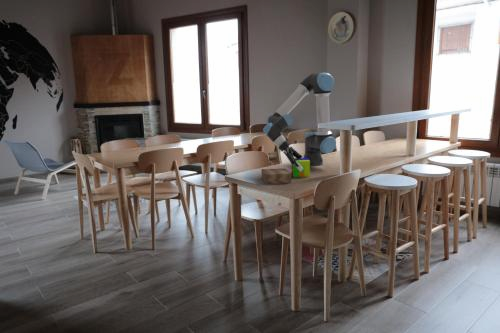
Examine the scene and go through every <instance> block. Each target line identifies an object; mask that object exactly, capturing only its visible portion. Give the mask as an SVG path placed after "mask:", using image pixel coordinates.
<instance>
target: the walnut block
mask: <svg viewBox="0 0 500 333" xmlns="http://www.w3.org/2000/svg"><path fill="white" fill-rule="evenodd" d="M261 179H262V180H263V182H264V183H265V184H266V185H274V184H291V183H292V172H290V171H289V170H287V169H286V168H285V167H283V168H262V169H261Z"/></svg>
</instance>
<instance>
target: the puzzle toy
mask: <svg viewBox="0 0 500 333" xmlns="http://www.w3.org/2000/svg"><path fill="white" fill-rule="evenodd" d="M294 158H295V160H296V161H297V162H298V163H299V164H300V165H301V166H302V167H303V168H304V169H303V170H302V171H301V172H300V171H299V170H298V168H297V167H296V166H295V165H294V164H293V165H292V164H291V167H292V168H291V175H292V176H293V178H300V177H301V178H303V177H305V178H306V177H307V178H309V177H310V175H311V171H310V168H311V165H310V161H309V159H308V158H303V157H301V158H296V157H294Z"/></svg>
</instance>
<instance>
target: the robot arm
mask: <svg viewBox="0 0 500 333" xmlns="http://www.w3.org/2000/svg"><path fill="white" fill-rule="evenodd" d="M334 86H335V80H334V77H333V76H332V75H331V74H330V73H328V72H314V73H310V74H309V75H307V76H306V77H305V78H304V79H302V80H301V81H300V83H299V84H298V87H297V88H296V89H295V90H294V91H293V93H291V95H290V96H289V97H288V98H287V99H286V100H284V102H283V103H281V105H280V106H279V108H278V109H277V110H276V111H275V112H274V113H273V114H271V115H269V116H267V118H266V119H265V120H266V121H265V122H266V125H265V126H264V127H263V129H262V131H263V133H264V134H265V136H267V137H268V138H269V140H270V141H271V142H272V144H274V146H276V147H277V148H278V150H280V152H283V154H284V155H285V156H286V158H287V159H288V162H290V164H291V166H292V165H293V164H294V165H295V166H296V167H297V168H298V170H299V171H300V172H301V171H302V170H303V169H304V168H303V167H302V166H301V165H300V164H299V163H298V162H297V161H296V160H295V158H308V159H309V161H310V166H322V165H323V164H324V159H323V157H322V153H323V154H330V153H332V152H333V151H334V150H335V149H336V146H337V140H336V139H335V137H333V132H332V131H331V128H330V129H322V128H318V124H319V123H327V122H330V123H331V121H330V119H331V117H330V116H331V114H330V113H331V112H330V95H331V94H332V90H333V88H334ZM312 92H313V95H314V96H315V102H316V104H315V106H316V125H317V127H316V128H317V132H314V131H313V132H306V133H305V134H304V135H305V136H304V153H303V154H304V155H301V154H300V153H299V152H298V151H297V150H295V148H294V147H292V146H291V143H290V142H289V141H288V140H287V139H286V138H285V136H284V135H283V134H282V132H283V131H285V130H286V129H287V128H288V127H290V126H291V125H292V124H293V119H292V117H291V116H290V115H289V114H290V113H291V112H292V111H293V110H294V109H295V107H297V105H298V104H300V102H301V101H302V100H303V99H304V98H305V96H307V95H308V96H309V95H310V93H312Z"/></svg>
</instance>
